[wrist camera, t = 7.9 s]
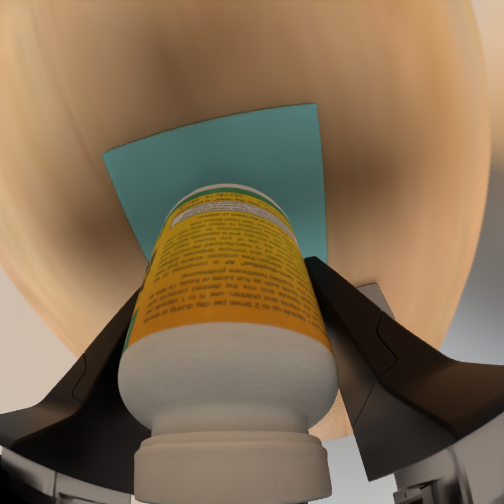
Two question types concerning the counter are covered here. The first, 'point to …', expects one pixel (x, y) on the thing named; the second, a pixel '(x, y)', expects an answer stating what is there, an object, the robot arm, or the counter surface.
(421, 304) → the counter surface
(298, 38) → the counter surface
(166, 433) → the supplement bottle
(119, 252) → the counter surface
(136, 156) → the teal mat
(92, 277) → the counter surface
